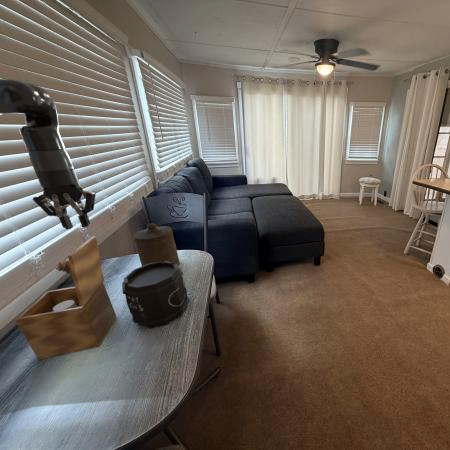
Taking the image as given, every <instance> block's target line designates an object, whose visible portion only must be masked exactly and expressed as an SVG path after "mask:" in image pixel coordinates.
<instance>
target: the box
mask: <svg viewBox="0 0 450 450" xmlns="http://www.w3.org/2000/svg"><path fill="white" fill-rule="evenodd" d="M68 300H73V301H74V302H75V304H76V306H79V307H76V308H70V309H65V310H59V311H53V308H54V307H55V306H56V305H58V304H59V303H62V302H64V301H68ZM117 318H118V317H117V315H116V311H115V309H114V307H113V304H112V301H111V298H110V296H109V294H108V291H107V289H106V286H105V283H104V282H103V283H102V284H101V285H100V286H99V288H98V289H97V290H96V291H95V293H94V294H93V295H92V296H91V298H90V299H89V300H88V301H87V302H86V304H85V305H84V306H81V307H80V305H79V301H78V297H77V292H76V288H75V286H70V287H64V288H59V289H58V288H57V289H52V290H46V292H45V293H43V294H42V295H41V296H40V297H39V298H38V299H37V300H36V301H34V302H33V303H32V304H31V305H29V307H27V308H26V309H25V311H23V312H22V313H21V314H19V316H17V317H16V318H15V319H14V320H15V324H17V326H18V328H19V329H20V331H21V333H22V335H23V336H24V338H25V340H26V341H27V343H28V344H29V346H30V348H31V350H32V351H33V353H34V355H35V357H36V358H37V360H38V361H40V360H45V359H49V358H53V357H54V358H55V357H58V356H63V355H67V354H72V353H76V352H77V353H78V352H81V351H85V350H91V349H96V348H99V347H101V345H102V343H103V341H104V340H105V338H106V336H107V335H108V333H109V331H110V330H111V328H112V326H113V325H114V323H115V321H116V320H117Z"/></svg>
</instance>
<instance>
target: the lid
mask: <svg viewBox="0 0 450 450" xmlns="http://www.w3.org/2000/svg"><path fill="white" fill-rule="evenodd" d="M67 258H68V261H69V263H70V267H71V271H72V275H73V280H72V281H73V283H74V287H75V288H76V292H77V297H78V301H79V305H80V307H81V306H84V305H85V304H86V302H87V301H88V300H89V299H90V298H91V296H92V295H93V294H94V293H95V291H96V290H97V289H98V288H99V286H100V285H101V284H102V283H104V282H105V278H104V272H103V267H102V262H101V261H102V260H101V257H100V250H99V246H98V241H97V236H96V235H92V236H91V237H90V238H89V239H87V240H86V241H85V242H83V243H82V244H81V245H79V246H78V247H77V248H76V249H74V250H73V251H72V252H70V254H68V255H67Z"/></svg>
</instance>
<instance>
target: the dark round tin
mask: <svg viewBox="0 0 450 450" xmlns="http://www.w3.org/2000/svg"><path fill="white" fill-rule="evenodd" d="M183 275H184V273H183V270H182V268H181V267H180V265H176V264H175V263H173V262H167V261H165V262H163V261H161V262H155V263H149V264H146V265H144V266H142V265H141V266H139V267H137V268H134V269H133V270H132V271H130V272H129V273H128V274H127V275H125V276H124V278H123V281H122V282H121V286H122V294H123V295H125V301H126V304H127V308H128V311H129V312H130V315H131V316H132V322H133V323H134V324H137V325H138V326H140V327H144V328H148V329H153V328H157V327H162V326H167V325H168V324H170V323H172V322H173V321H176V320H177V319H178V318H180V317H181V316H182V315H183V314H184V312H185V310H186V309H187V308H188V304H190V297H189V296H188V291H187V286H186V283H185V280H184V278H183Z"/></svg>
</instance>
